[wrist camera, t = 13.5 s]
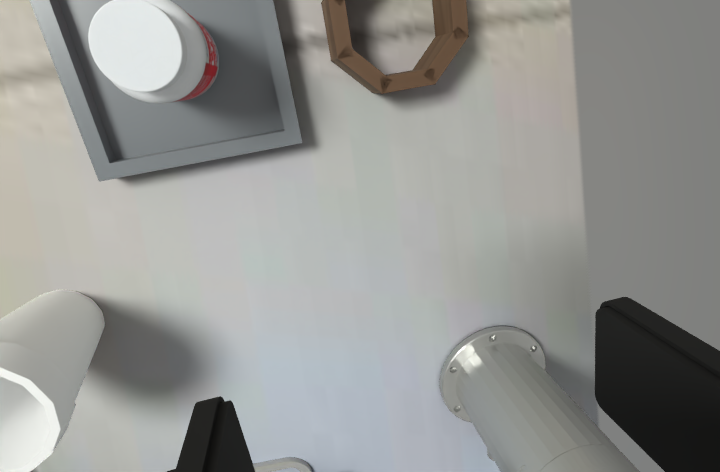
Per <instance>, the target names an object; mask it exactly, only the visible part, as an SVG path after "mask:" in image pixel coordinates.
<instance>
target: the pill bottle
mask: <svg viewBox="0 0 720 472" xmlns="http://www.w3.org/2000/svg"><path fill="white" fill-rule="evenodd" d="M88 42H89V47H90V51H91V54H92V57H93V59H94V61H95V63H96V64H97V66H98V67H99V69H100V70H101V71H102V73H103V74H104V75H105V76H106V77H107V78H109V79H110V80H111V81H112V82H113V84H114V85H115V86H117V87H118V88H119V89H120V90H122V91H123V92H124V93H126V94H127V95H129V96H131V97H133V98H135V99H138V100H141V101H144V102H148V103H158V104H162V103H171V102H177V101H183V100H188V99H192V98H195V97H198V96H200V95H201V94H203V93H204V92H206V91H207V90H208V89H209V88H210V87H211V85H212V84H213V83H214V81H215V79H216V77H217V74H218V69H219V54H218V50H217V47H216V44H215V42H214V40H213V38H212V37H211V35H210V34H209V32H208V31H207V30H206V29H205V27H204V26H203V25H202V24H200V23H199V22H198V21H197V20H196V19H194V18H193V17H192V16H191V15H189V14H188V13H187V12H186V11H185V10H183V9H182V8H181V7H180V6H178V5H177V4H175V3H174V2H172V1H170V0H112V1H110V2H108V3H106V4H104V5H103V6H102V7H101V8H100V9H99V10H98V11H97V12H96V13H95V15H94V16H93V18H92V21H91V23H90V27H89V33H88Z"/></svg>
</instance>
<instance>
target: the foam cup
mask: <svg viewBox="0 0 720 472" xmlns="http://www.w3.org/2000/svg"><path fill="white" fill-rule="evenodd" d="M104 326H105V321H104V317H103V312H102V310H101V309H100V308H99V307H98V305H97V304H96V303H95V302H94V301H93V300H92V299H91V298H89V297H87V296H85V295H83V294H81V293H79V292H77V291H70V290H61V289H58V290H54V291H51V292H47V293H43V294H41V295H40V296H37V297H36V298H34V299H32V300H31V301H29V302H27V303H26V304H24V305H22V306H21V307H19V308H17V309H16V310H14V311H12V312H11V313H9V314H8V315H6V316H4V317H3V318H1V319H0V472H30V471H32V470H33V469H34V468H35V467H37V466H38V465H39V464H40V463H41V462H43V461H44V460H45V459H46V458H47V457H49V456H50V455H51V454H52V453H53V451H54V449H55V448H56V446H57V444H58V443H59V441H60V439H61V438H62V436H63V434H64V433H65V431H66V429H67V427H68V425H69V422H70V419H71V416H72V413H73V411H74V408H75V405H76V404H75V400H76V397H77V395H78V392H79V390H80V387H81V385H82V382H83V380H84V378H85V375H86V373H87V370H88V368H89V365H90V363H91V360H92V358H93V355H94V353H95V350H96V348H97V345H98V343H99V340H100V338H101V335H102V332H103V329H104Z"/></svg>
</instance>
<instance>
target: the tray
mask: <svg viewBox="0 0 720 472" xmlns="http://www.w3.org/2000/svg"><path fill="white" fill-rule="evenodd" d="M110 1H112V0H30V3H31V6H32V8H33V11H34V13H35V16H36V19H37V21H38V24H39V26H40V29H41V32H42V34H43V37H44V39H45V42H46V45H47V47H48V50H49V52H50V55H51V58H52V60H53V63H54V66H55V68H56V71H57V73H58V76H59V79H60V81H61V84H62V86H63V89H64V92H65V94H66V97H67V99H68V102H69V105H70V107H71V110H72V112H73V115H74V118H75V120H76V123H77V125H78V128H79V131H80V133H81V136H82V138H83V141H84V144H85V146H86V149H87V151H88V154H89V157H90V159H91V162H92V164H93V167H94V170H95V172H96V175H97V177H98V180H99V181H104V180H110V179H115V178H120V177H126V176H131V175H136V174H141V173H147V172H152V171H157V170H163V169H168V168H173V167H178V166H184V165H189V164H194V163H200V162H205V161H210V160H215V159H221V158H226V157H231V156H237V155H242V154H247V153H252V152H258V151H263V150H268V149H274V148H279V147H284V146H289V145H295V144H300V143H302V138H301V133H300V129H299V124H298V119H297V114H296V109H295V104H294V99H293V94H292V90H291V85H290V80H289V75H288V70H287V65H286V60H285V56H284V51H283V46H282V41H281V36H280V31H279V26H278V21H277V17H276V12H275V7H274V2H273V0H170V1H172V2H174V3H175V4H177V5H178V6H180V7H181V8H182V9H183V10H185V11H186V12H187V13H188V14H189V15H191V16H192V17H193V18H194V19H196V20H197V21H198V22H199V23H200V24H202V25H203V26H204V27H205V29H206V30H207V31H208V32H209V34H210V35H211V37H212V38H213V40H214V42H215V44H216V47H217V50H218V54H219V69H218V74H217V77H216V79H215V81H214V83H213V84H212V85H211V87H210V88H209V89H208V90H207V91H206V92H204V93H203V94H201V95H200V96H198V97H195V98H192V99H188V100H183V101H177V102H171V103H162V104H158V103H148V102H144V101H141V100H138V99H135V98H133V97H131V96H129V95H127V94H126V93H124V92H123V91H122V90H120V89H119V88H118V87H117V86H115V85H114V84H113V82H112V81H111V80H110V79H109V78H107V77H106V76H105V75H104V74H103V73H102V71H101V70H100V69H99V67H98V66H97V64H96V63H95V61H94V59H93V57H92V54H91V51H90V47H89V42H88V33H89V27H90V23H91V21H92V18H93V16H94V15H95V13H96V12H97V11H98V10H99V9H100V8H101V7H102V6H103V5H104V4H106V3H108V2H110Z"/></svg>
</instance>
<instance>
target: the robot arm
mask: <svg viewBox="0 0 720 472" xmlns="http://www.w3.org/2000/svg"><path fill="white" fill-rule="evenodd" d="M545 368H546V363H545V356H544V353H543V350H542V348H541V347H540V345H539V344H538V342H537V341H536V340H535V339H534V338H533V337H532V336H531V335H529V334H528V333H526V332H525V331H523V330H520V329H518V328H515V327H508V326H496V327H491V328H486V329H484V330H481V331H478V332H476V333H474V334H472V335H471V336H469V337H467V338H466V339H465V340H463V341H462V342H461V343H460V344H458V345H457V346H456V347H455V349H454V350H453V351H452V352H451V353H450V355H449V356H448V358H447V359H446V361H445V363H444V365H443V368H442V370H441V375H440V392H441V396H442V398H443V400H444V402H445V404H446V406H447V407H448V409H449V410H450V411H451V412H452V413H453V414H454V415H455V416H457V417H458V418H460V419H462V420H464V421H468V422H471V423H473V425H474V427H475V428H476V430H477V432H478V433H479V435H480V437H481V439H482V440H483V442H484V444H485V445H486V447H487V455H488V457H489V458H490V459H491V460H493V461H495V463H496V464H497V466H498V468H499V470H500V471H501V472H639V470H637V468H636V467H635V466H634V465H633V464H632V463H631V462H630V461H629V460H628V459H627V458H626V457H625V456H624V455H623V453H621V452H620V451H619V449H618V448H617V447H616V446H615V445H614V444H613V443H612V442H611V441H610V440H609V438H608V437H607V436H605V434H604V433H603V432H602V431H601V430H600V429H599V428H598V427H597V426H596V425H595V424H594V423H593V421H592V420H591V419H590V418H589V417H588V416H587V415H586V414H585V413H584V412H583V411H582V410H581V409H580V408H579V407H578V405H577V404H576V403H575V402H574V401H573V400H572V399H571V398H570V397H569V396H568V395H567V394H566V393H565V392H564V391H563V390H562V388H561V387H560V386H559V385H558V384H557V383H556V382H555V381H554V380H553V379H552V378H551V377H550V376H549V375H548V374H547V373H546V371H545ZM595 397H596V400H597V402H598V404H599V406H600V407H601V408H602V409H603V411H604V412H605V413H606V414H607V415H609V417H610V418H611V419H613V420H614V422H615V423H616V424H617V425H618V426H620V428H622V429H623V430H624V431H625V432H626V433H627V434H628V435H629V436H630V437H631V438H632V439H633V440H634V441H635V442H636V443H637V444H638V445H639V446H640V447H641V448H642V449H643V450H644V451H645V452H646V453H647V454H648V455H649V456H650V457H651V458H652V459H653V460H654V461H655V462H656V463H657V464H658V465H659V466H660V467H661V468H662V469H663V470H664V471H665V472H720V351H718V350H717V349H715V348H714V347H712V346H710V345H709V344H707V343H705V342H703V341H702V340H700V339H698V338H697V337H695V336H693V335H691V334H690V333H688V332H687V331H685V330H683V329H681V328H680V327H678V326H676V325H675V324H673V323H671V322H669V321H668V320H666V319H664V318H663V317H661V316H659V315H657V314H656V313H654V312H652V311H651V310H649V309H647V308H646V307H644V306H642V305H641V304H639V303H637V302H635V301H634V300H632V299H630V298H628V297H622V298H618V299H614V300H610V301H605V302H603V303H602V304H601V306H600V309H598V310H597V312H596V333H595ZM167 472H255V469H254V466H253V463H252V460H251V457H250V454H249V451H248V448H247V445H246V442H245V439H244V436H243V433H242V430H241V427H240V424H239V420H238V417H237V414H236V411H235V408H234V405H233V403H232V401H226V402H224V399H223V398H222V397H216V398H212V399H208V400H204V401H200V402H197V403H196V404H195V406H194V409H193V413H192V416H191V420H190V423H189V426H188V430H187V433H186V437H185V440H184V443H183V447H182V450H181V454H180V457H179V460H178V464H177V467H176V469H174V470H170V471H167Z"/></svg>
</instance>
